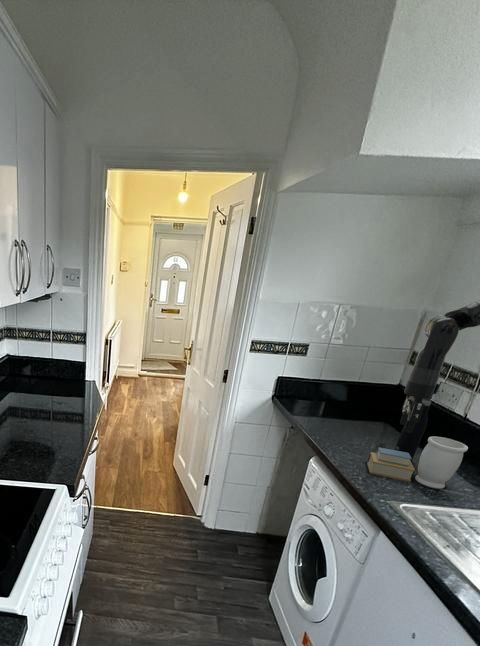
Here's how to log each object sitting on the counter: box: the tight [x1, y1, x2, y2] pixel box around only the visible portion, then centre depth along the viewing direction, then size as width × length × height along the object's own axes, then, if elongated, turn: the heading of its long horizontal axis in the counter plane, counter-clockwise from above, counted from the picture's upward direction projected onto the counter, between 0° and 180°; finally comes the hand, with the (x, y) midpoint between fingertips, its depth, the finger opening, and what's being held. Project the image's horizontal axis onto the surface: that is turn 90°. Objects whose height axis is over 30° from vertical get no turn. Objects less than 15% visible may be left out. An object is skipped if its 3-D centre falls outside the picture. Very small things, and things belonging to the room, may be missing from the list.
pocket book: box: [375, 446, 413, 466], centre depth 144 cm, size 9×6×3 cm, turn 63°
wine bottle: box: [393, 383, 441, 463], centre depth 150 cm, size 6×6×30 cm
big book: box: [366, 451, 416, 483], centre depth 145 cm, size 12×10×4 cm
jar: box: [414, 435, 469, 489], centre depth 137 cm, size 11×10×15 cm
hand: (405, 428), depth 140 cm, fingers open, 8 cm apart
